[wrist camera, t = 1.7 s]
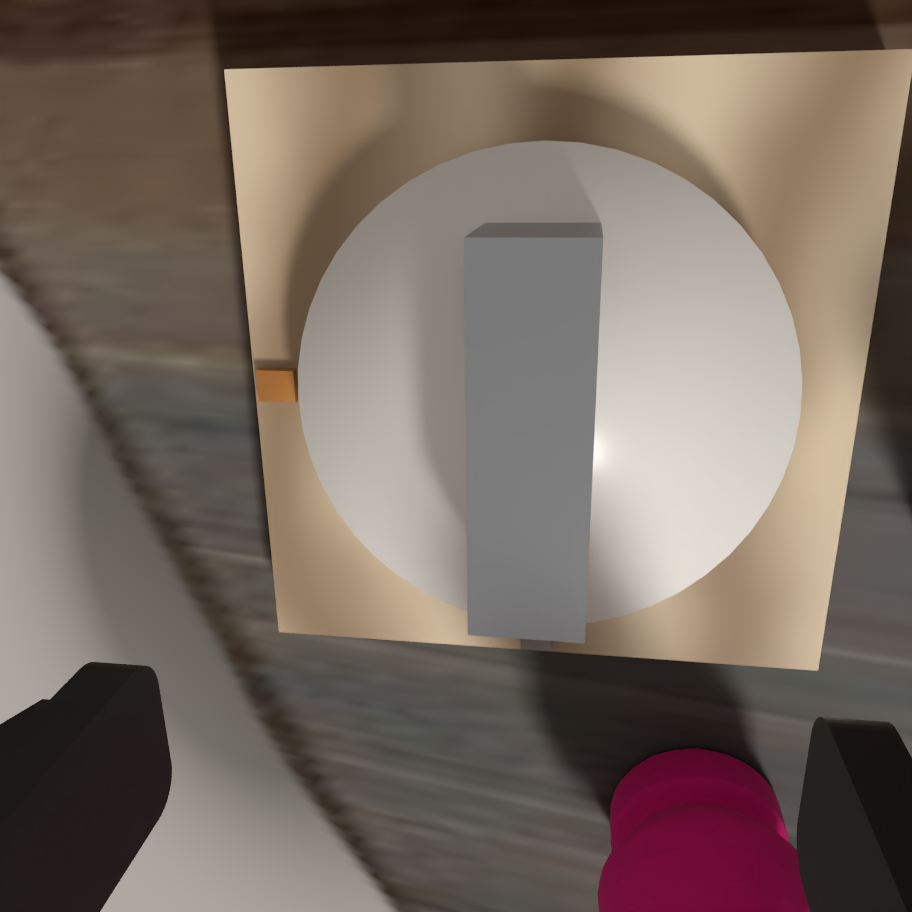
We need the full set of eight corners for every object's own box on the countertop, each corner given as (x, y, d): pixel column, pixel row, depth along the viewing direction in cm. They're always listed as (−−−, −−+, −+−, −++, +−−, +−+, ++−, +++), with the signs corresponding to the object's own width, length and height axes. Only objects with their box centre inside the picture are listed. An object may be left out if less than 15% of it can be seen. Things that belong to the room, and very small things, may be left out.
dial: (821, 136, 21) (893, 132, 16) (760, 615, 26) (802, 727, 21) (296, 145, 24) (214, 143, 18) (328, 587, 28) (271, 683, 23)
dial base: (888, 56, 23) (919, 47, 20) (803, 636, 29) (820, 676, 27) (251, 75, 25) (219, 68, 23) (297, 603, 31) (275, 636, 29)
